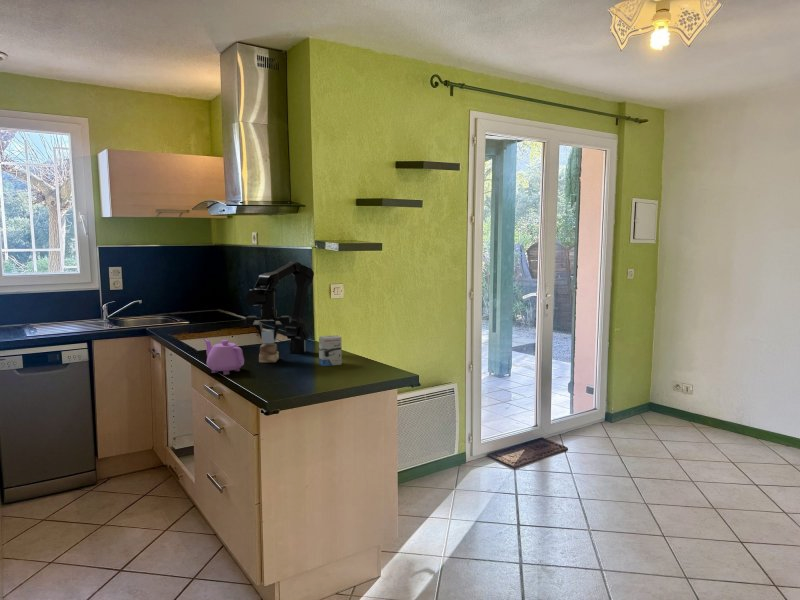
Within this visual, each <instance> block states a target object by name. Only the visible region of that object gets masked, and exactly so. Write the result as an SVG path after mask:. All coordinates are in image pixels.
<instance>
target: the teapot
mask: <svg viewBox="0 0 800 600" xmlns="http://www.w3.org/2000/svg"><path fill="white" fill-rule="evenodd" d="M203 342H205V344H206V356H207V357H206V367H208V368H209V370H211V372H210V373H212V374H216V373H217V374H218V373H219V372H222V375H224V376H226V375H227V376H228V375H230V373H231V372H230V371H233V372H241V368H242V367H243V366H244V365H245V358H244V357H245V356H244V353H243V349H242V348H241V347H239V345H237V344H236V343H234V342H229V339H222V340H221V341H220V342H221V343H215V344H214V345H213V346H212V343H211V341H210V340H208V339H206V338H203Z"/></svg>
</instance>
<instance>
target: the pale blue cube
mask: <svg viewBox="0 0 800 600" xmlns="http://www.w3.org/2000/svg"><path fill="white" fill-rule="evenodd" d="M262 330H263V331H262V332H261V337H262V339H261V344H275V343H276V340H274V329H262ZM261 337H260V338H261Z"/></svg>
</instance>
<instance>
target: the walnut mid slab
mask: <svg viewBox="0 0 800 600" xmlns="http://www.w3.org/2000/svg"><path fill="white" fill-rule="evenodd" d="M276 352H278V344H277V343H261V345H260V346H259V354H260V355H274V354H275V353H276Z"/></svg>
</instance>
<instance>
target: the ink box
mask: <svg viewBox="0 0 800 600" xmlns="http://www.w3.org/2000/svg"><path fill="white" fill-rule="evenodd" d="M342 351H343V350H342V336H339V335H338V334H337V335H335V334H334V335H321V336H318V364H319V365H320V366H322V367H330V366H340V365H342V364H343V363H342Z"/></svg>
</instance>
